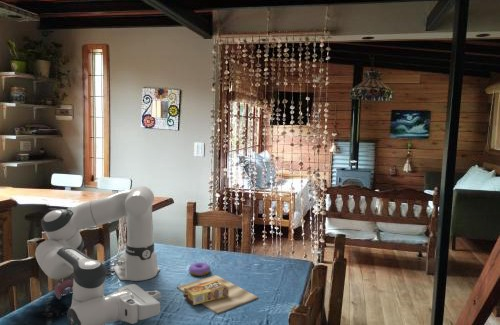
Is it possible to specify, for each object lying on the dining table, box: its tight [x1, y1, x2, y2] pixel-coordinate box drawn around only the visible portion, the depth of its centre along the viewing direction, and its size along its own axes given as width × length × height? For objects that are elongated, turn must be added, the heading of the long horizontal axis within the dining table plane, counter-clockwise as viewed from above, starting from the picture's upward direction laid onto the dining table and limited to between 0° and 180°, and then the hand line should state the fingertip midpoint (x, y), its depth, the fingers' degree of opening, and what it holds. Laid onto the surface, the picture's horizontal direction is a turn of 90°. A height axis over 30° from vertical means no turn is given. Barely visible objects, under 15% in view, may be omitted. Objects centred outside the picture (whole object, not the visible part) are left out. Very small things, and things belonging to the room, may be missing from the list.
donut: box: [188, 262, 211, 277], centre depth 175 cm, size 10×9×5 cm
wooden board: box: [176, 274, 259, 315], centre depth 154 cm, size 28×20×1 cm
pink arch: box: [53, 278, 74, 299], centre depth 149 cm, size 10×5×7 cm, turn 135°
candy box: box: [183, 279, 229, 306], centre depth 149 cm, size 9×4×15 cm
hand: (159, 293), depth 137 cm, fingers closed
